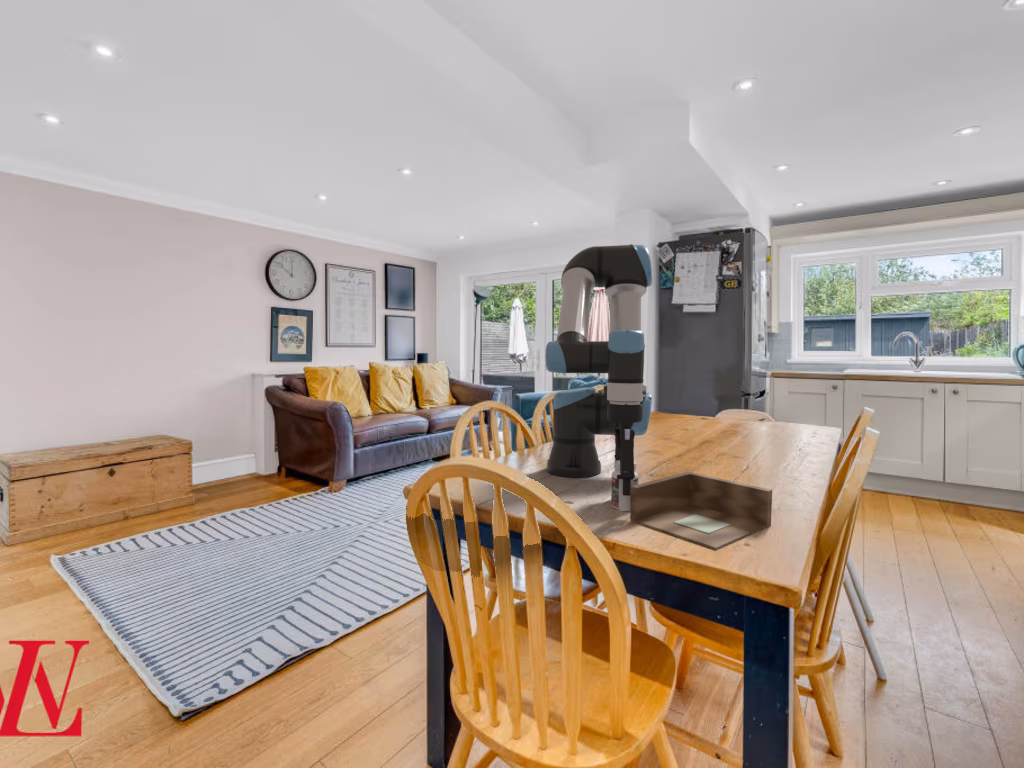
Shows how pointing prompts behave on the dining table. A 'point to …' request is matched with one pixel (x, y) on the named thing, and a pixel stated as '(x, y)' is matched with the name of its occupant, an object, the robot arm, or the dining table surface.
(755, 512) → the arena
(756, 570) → the dining table surface
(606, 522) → the dining table surface
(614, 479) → the pill bottle
